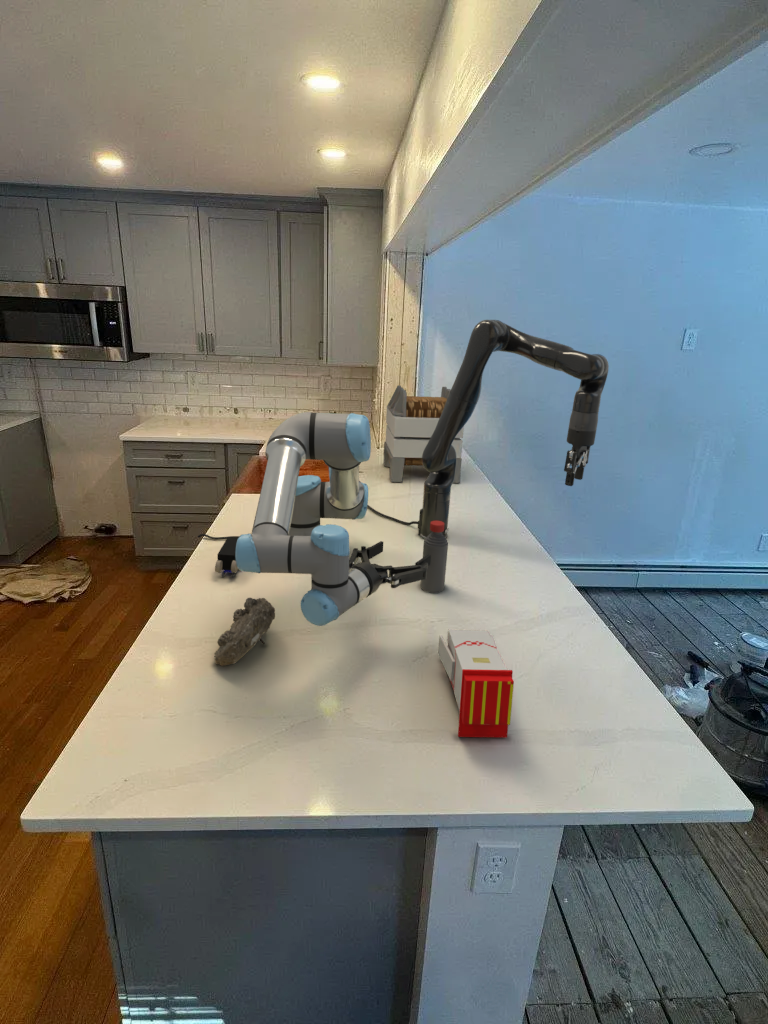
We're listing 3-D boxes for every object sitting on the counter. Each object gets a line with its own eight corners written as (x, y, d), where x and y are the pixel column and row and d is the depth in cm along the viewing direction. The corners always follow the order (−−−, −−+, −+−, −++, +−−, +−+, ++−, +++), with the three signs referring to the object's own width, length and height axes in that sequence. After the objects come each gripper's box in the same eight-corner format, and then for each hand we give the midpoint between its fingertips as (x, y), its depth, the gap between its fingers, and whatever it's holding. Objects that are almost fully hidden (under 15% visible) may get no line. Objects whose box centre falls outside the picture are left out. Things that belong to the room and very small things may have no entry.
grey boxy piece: (382, 463, 289) (386, 382, 275) (445, 464, 293) (451, 384, 279) (390, 482, 257) (394, 392, 243) (460, 483, 261) (468, 394, 247)
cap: (433, 526, 159) (433, 519, 158) (446, 529, 157) (446, 522, 157) (427, 530, 156) (428, 523, 155) (440, 533, 154) (441, 526, 153)
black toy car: (238, 584, 162) (249, 557, 175) (236, 562, 158) (247, 536, 172) (215, 584, 161) (227, 556, 175) (212, 561, 158) (225, 535, 171)
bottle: (426, 579, 167) (430, 518, 160) (447, 585, 164) (453, 523, 157) (416, 589, 161) (421, 525, 154) (438, 595, 158) (444, 530, 152)
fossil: (230, 601, 141) (273, 572, 136) (255, 627, 144) (299, 600, 139) (195, 660, 122) (245, 629, 117) (226, 689, 125) (276, 660, 120)
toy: (488, 613, 130) (523, 677, 101) (484, 667, 133) (517, 744, 104) (435, 612, 130) (455, 676, 101) (432, 666, 133) (451, 743, 103)
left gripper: (311, 583, 131) (363, 554, 149) (405, 615, 119) (449, 579, 136) (312, 553, 129) (363, 527, 146) (407, 583, 117) (451, 551, 134)
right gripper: (577, 422, 167) (568, 474, 173) (561, 428, 156) (552, 484, 162) (603, 425, 163) (593, 479, 169) (588, 433, 152) (578, 490, 158)
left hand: (405, 552), depth 141 cm, fingers open, 13 cm apart
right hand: (573, 482), depth 165 cm, fingers open, 8 cm apart
